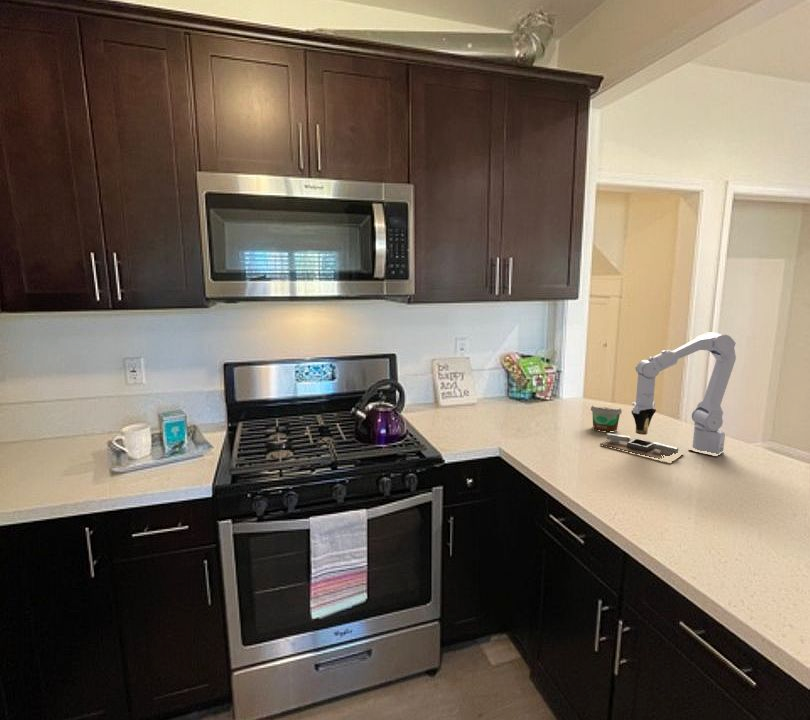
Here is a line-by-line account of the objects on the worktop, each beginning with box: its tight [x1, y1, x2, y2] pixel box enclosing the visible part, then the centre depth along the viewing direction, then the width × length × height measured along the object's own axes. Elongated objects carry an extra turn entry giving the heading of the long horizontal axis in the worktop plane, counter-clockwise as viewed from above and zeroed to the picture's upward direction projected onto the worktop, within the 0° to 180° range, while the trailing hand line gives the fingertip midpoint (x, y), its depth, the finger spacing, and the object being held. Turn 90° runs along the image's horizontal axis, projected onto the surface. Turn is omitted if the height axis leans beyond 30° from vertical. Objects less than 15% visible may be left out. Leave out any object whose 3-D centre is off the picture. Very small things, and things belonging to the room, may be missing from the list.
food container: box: [590, 404, 622, 433], centre depth 198 cm, size 12×6×10 cm, turn 62°
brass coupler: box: [635, 417, 649, 436], centre depth 175 cm, size 4×4×6 cm
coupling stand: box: [599, 432, 679, 459], centre depth 176 cm, size 25×13×4 cm, turn 41°
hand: (642, 428), depth 175 cm, fingers closed on brass coupler, 4 cm apart
